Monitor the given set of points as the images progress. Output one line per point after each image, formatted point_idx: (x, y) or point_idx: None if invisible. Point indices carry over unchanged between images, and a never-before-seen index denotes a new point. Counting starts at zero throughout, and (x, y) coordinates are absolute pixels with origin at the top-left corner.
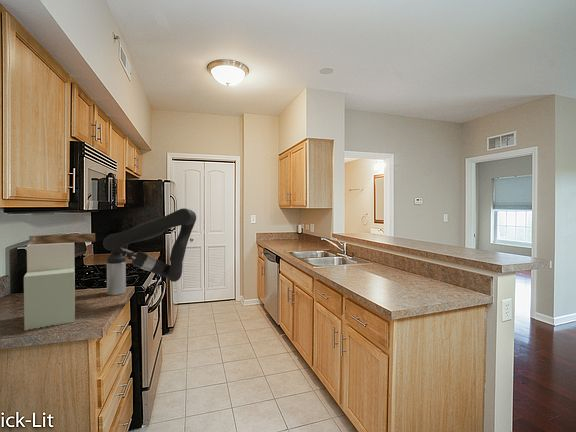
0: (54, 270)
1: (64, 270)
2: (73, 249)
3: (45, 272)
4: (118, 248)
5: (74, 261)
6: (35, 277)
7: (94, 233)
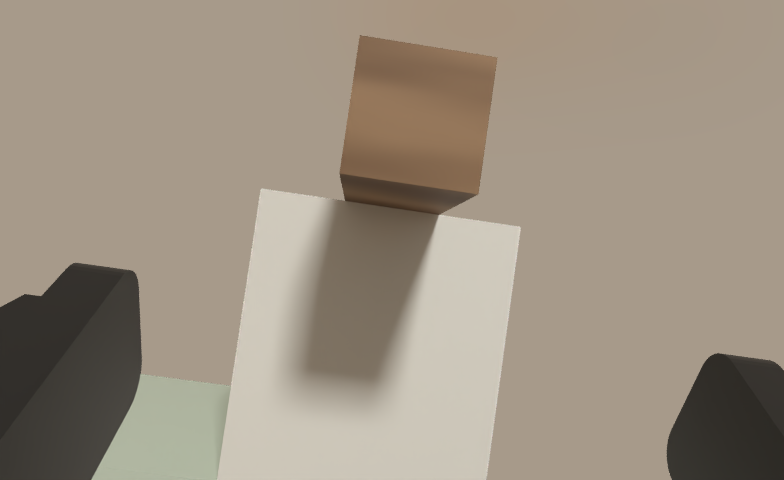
0: (209, 425)
1: (137, 440)
2: (250, 260)
3: (165, 404)
4: (18, 348)
5: (312, 427)
6: None
7: (464, 54)
